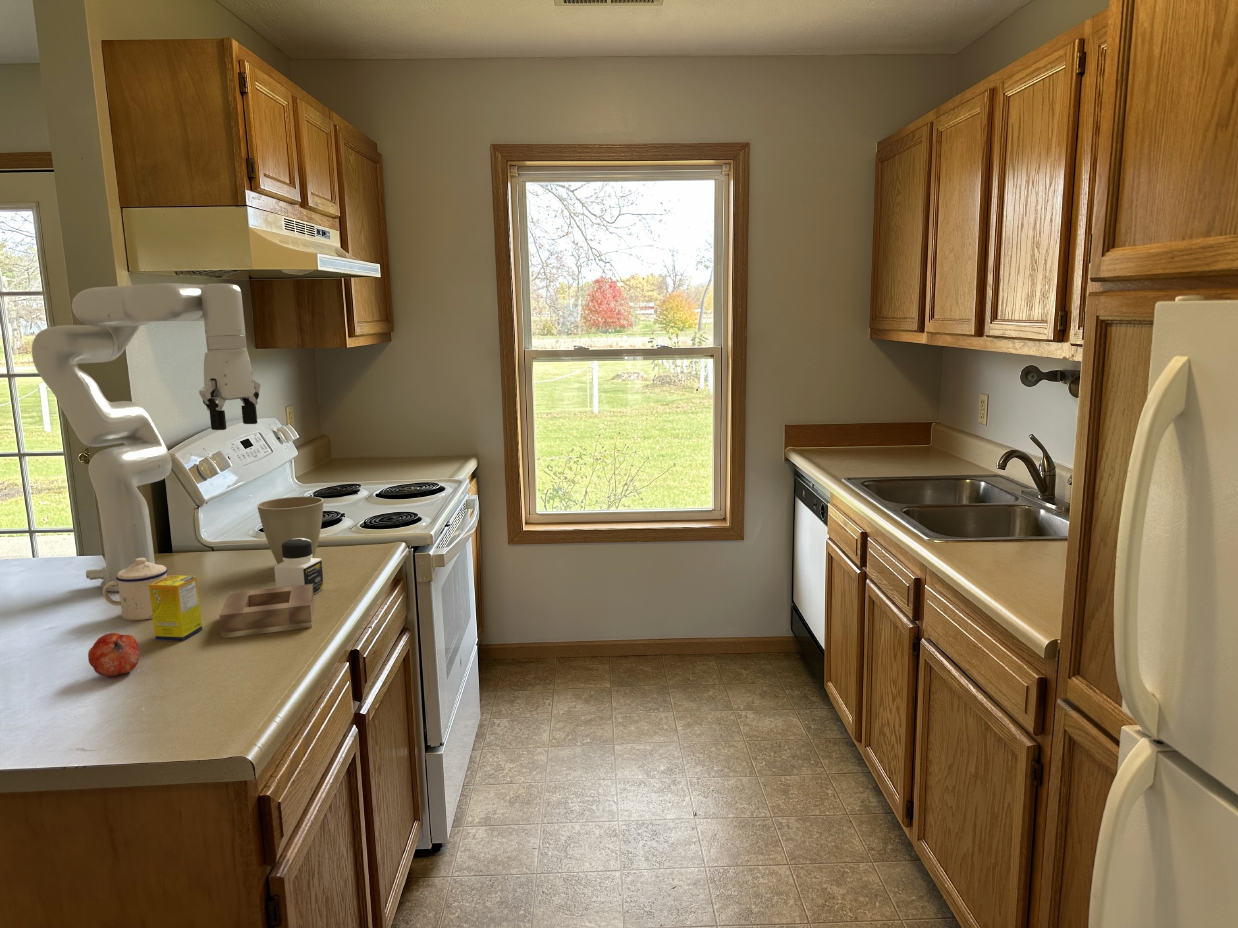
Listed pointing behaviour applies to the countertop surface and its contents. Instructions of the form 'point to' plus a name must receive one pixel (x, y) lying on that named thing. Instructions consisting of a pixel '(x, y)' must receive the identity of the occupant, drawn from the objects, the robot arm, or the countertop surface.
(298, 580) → the medicine bottle
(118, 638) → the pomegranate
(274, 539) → the plant pot
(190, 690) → the countertop surface
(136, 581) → the teacup with lid
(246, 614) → the wooden square frame
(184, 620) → the supplement box
